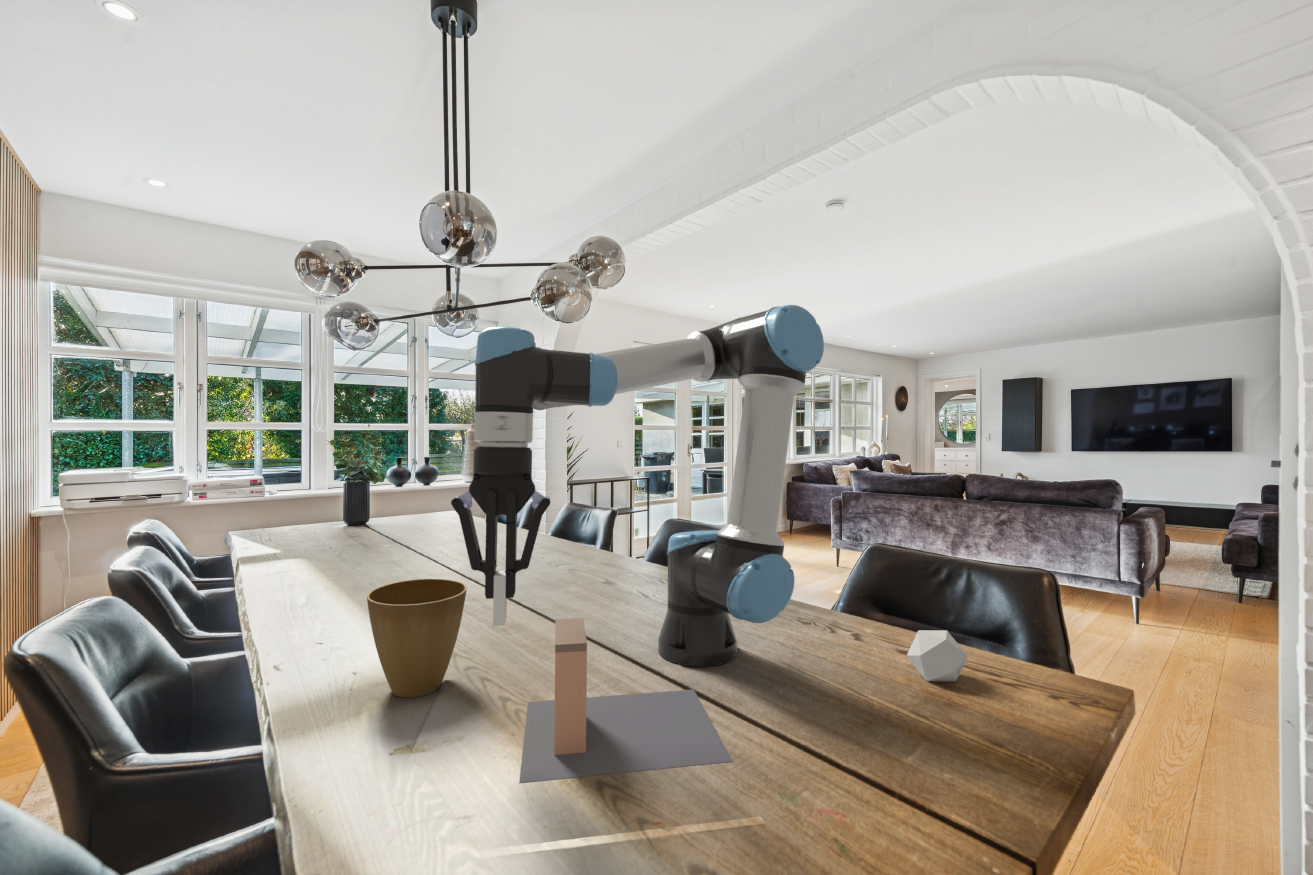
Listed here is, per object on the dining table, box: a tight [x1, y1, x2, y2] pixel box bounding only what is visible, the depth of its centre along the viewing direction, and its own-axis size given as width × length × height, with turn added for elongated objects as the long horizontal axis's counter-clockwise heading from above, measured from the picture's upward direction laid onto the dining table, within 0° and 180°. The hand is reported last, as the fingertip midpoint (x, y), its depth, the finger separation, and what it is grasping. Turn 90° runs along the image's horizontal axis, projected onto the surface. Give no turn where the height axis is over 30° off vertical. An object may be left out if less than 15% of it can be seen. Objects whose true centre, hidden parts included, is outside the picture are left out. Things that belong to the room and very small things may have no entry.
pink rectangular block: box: [554, 617, 588, 755], centre depth 75 cm, size 10×4×14 cm, turn 10°
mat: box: [519, 689, 734, 784], centre depth 76 cm, size 20×26×1 cm
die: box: [906, 629, 969, 682], centre depth 95 cm, size 8×9×10 cm
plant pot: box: [366, 578, 468, 699], centre depth 90 cm, size 15×15×16 cm
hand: (499, 621), depth 73 cm, fingers closed
